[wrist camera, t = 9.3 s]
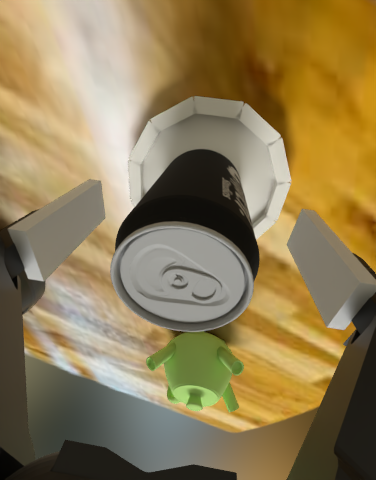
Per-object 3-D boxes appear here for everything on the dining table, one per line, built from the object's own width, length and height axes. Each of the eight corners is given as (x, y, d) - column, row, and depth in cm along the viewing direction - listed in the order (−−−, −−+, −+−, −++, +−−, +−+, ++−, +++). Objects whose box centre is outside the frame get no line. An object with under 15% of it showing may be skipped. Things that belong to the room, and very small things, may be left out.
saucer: (137, 235, 23) (132, 243, 22) (132, 88, 16) (124, 87, 15) (258, 254, 22) (260, 264, 21) (309, 109, 15) (318, 110, 14)
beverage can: (176, 133, 17) (109, 182, 7) (254, 164, 17) (304, 254, 7) (156, 207, 20) (92, 311, 10) (221, 231, 21) (222, 353, 11)
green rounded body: (167, 358, 36) (154, 421, 29) (156, 313, 30) (137, 378, 23) (236, 364, 34) (240, 432, 27) (239, 317, 28) (246, 389, 21)
